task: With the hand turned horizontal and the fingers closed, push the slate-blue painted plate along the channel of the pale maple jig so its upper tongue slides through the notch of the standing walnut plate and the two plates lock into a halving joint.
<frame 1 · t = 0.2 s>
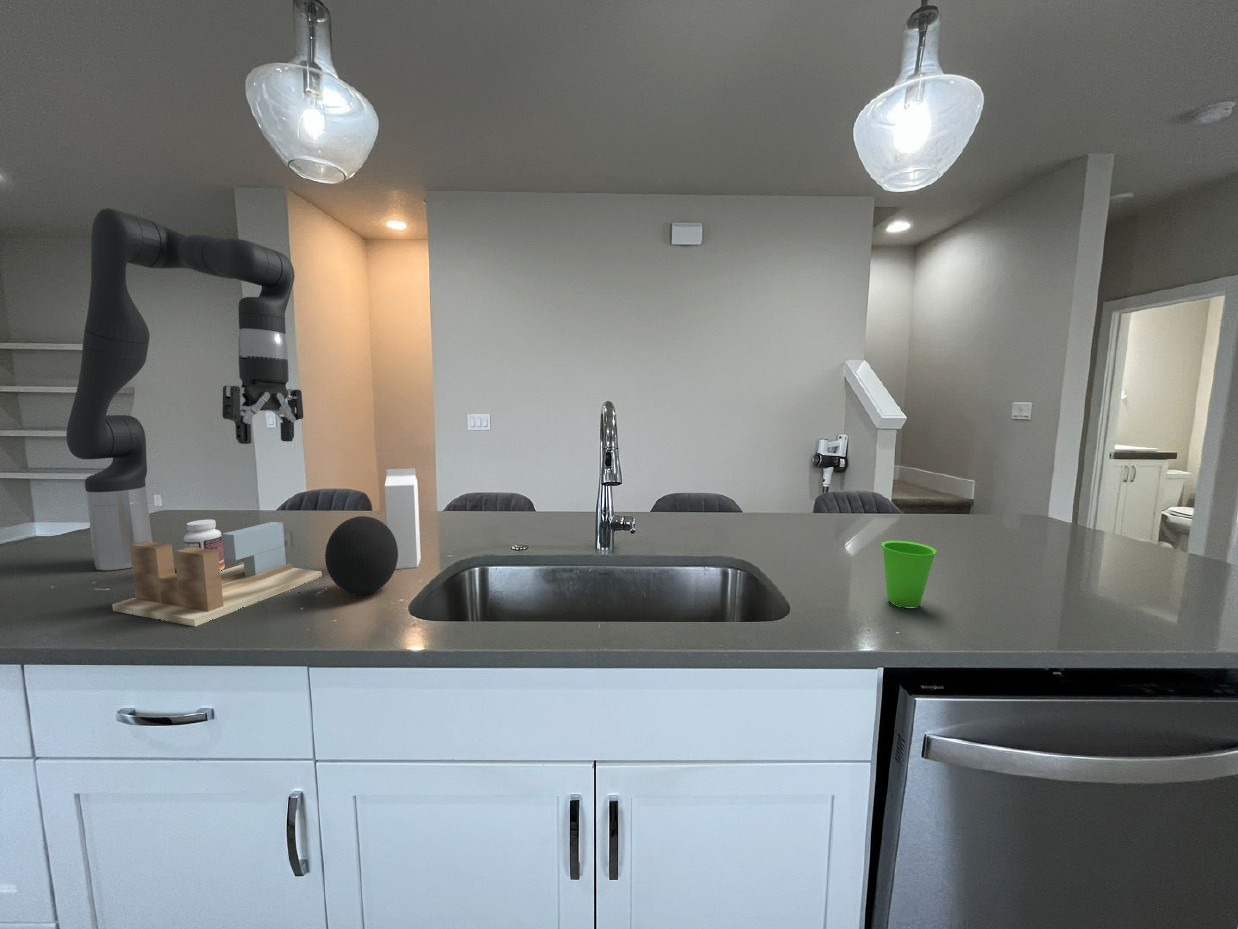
hand: (266, 442, 93), 29 cm above the counter, tool pointing down, fingers open, 8 cm apart
jig: (227, 592, 93), on the counter
cup: (903, 604, 91), on the counter
sliding plate: (255, 551, 98), point 6 cm above the counter, slide at 0.0 cm
pill bottle: (206, 572, 104), on the counter
milk: (405, 565, 111), on the counter
decorative egg: (365, 593, 94), on the counter
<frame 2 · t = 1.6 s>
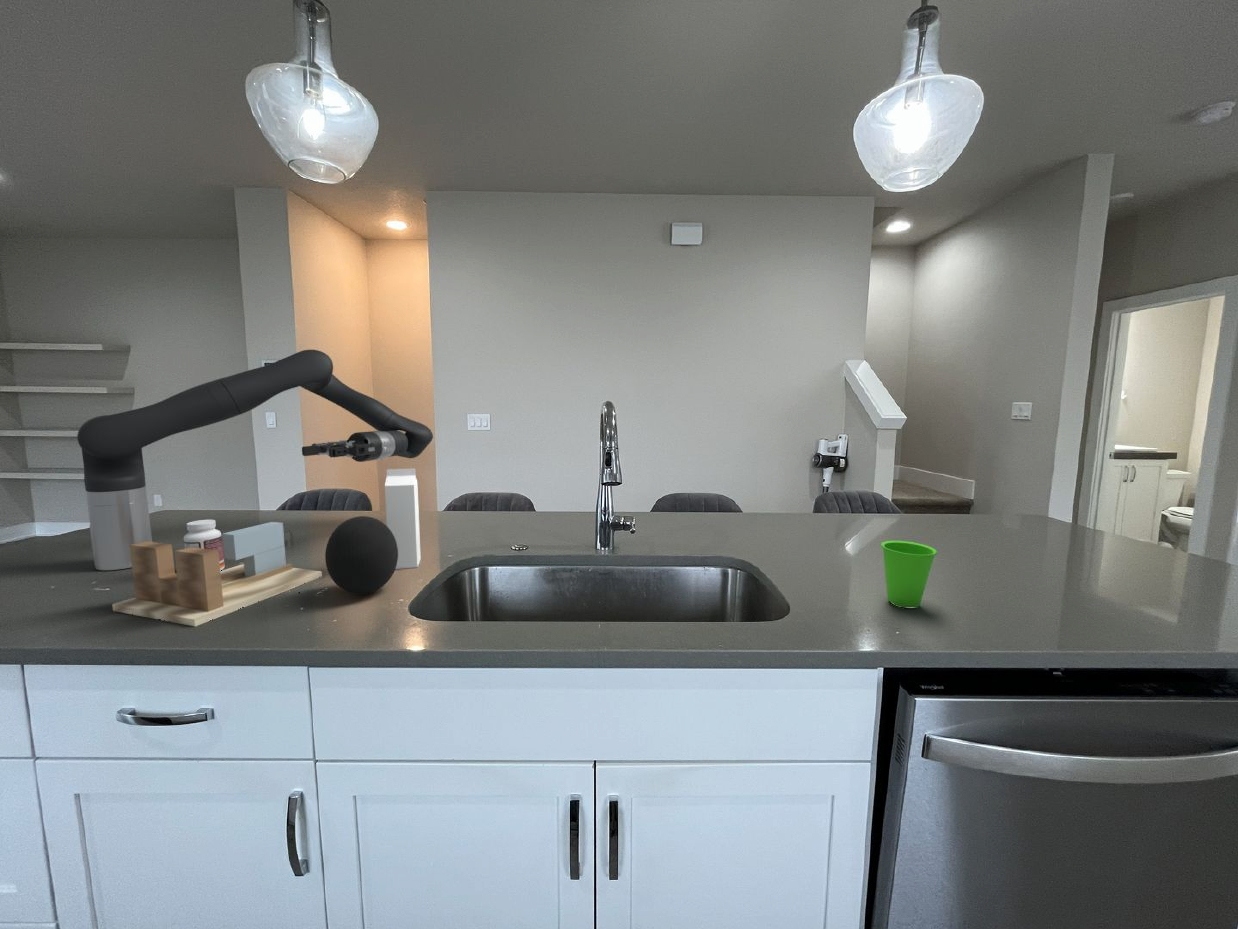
hand: (316, 452, 111), 25 cm above the counter, tool horizontal, fingers open, 7 cm apart
nothing on the counter moved.
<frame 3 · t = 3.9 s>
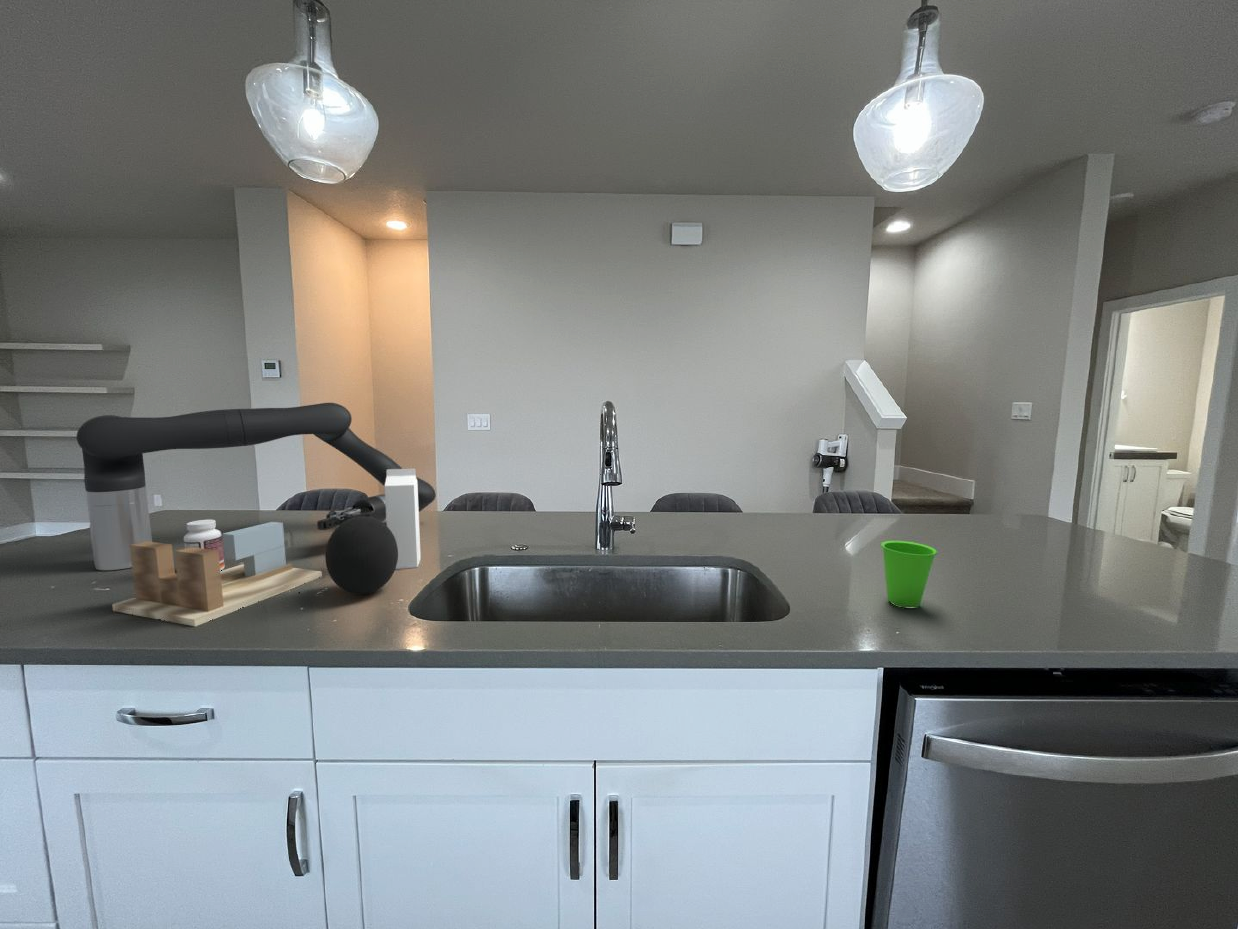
hand: (320, 525, 113), 8 cm above the counter, tool horizontal, fingers closed
nothing on the counter moved.
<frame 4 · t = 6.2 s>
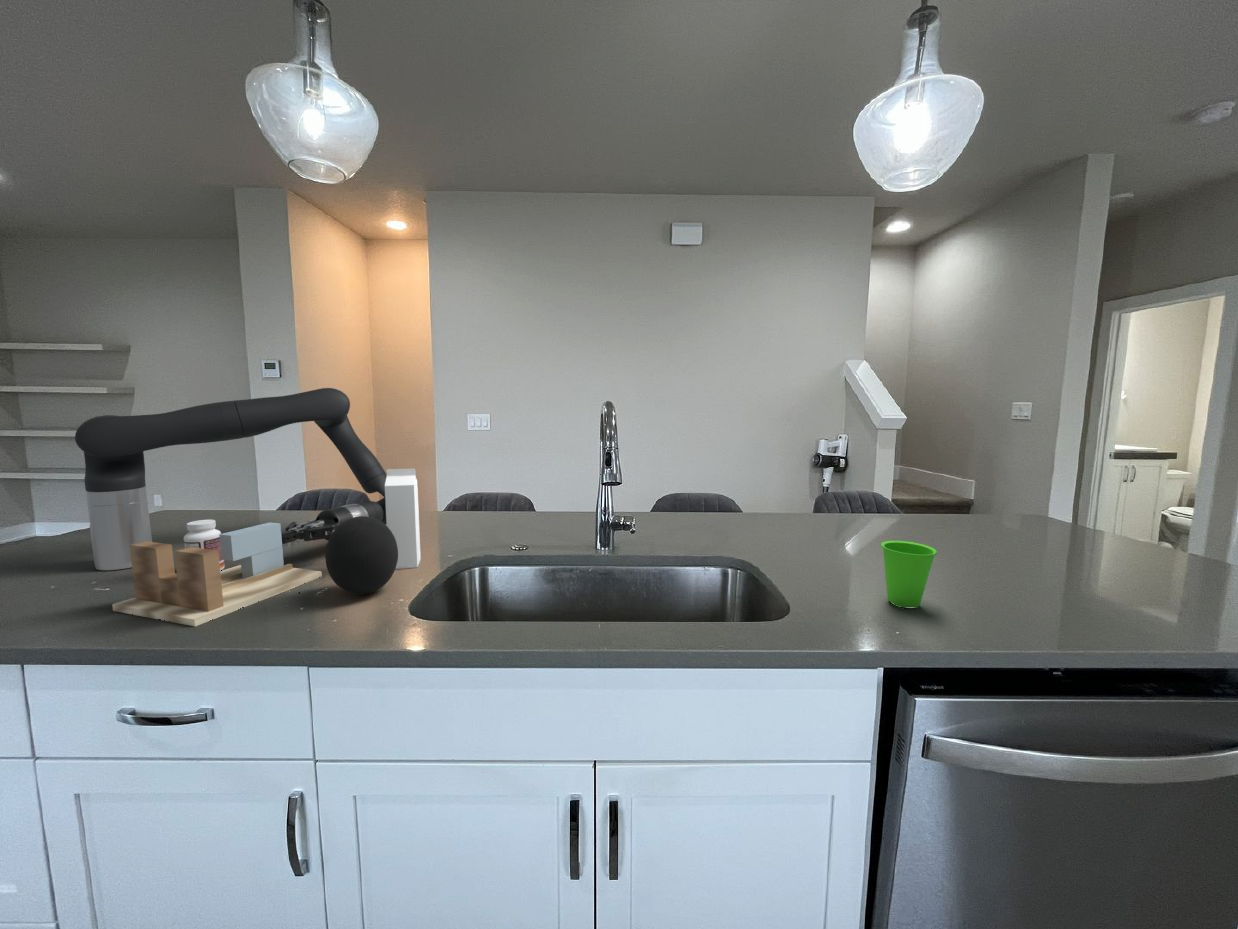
hand: (276, 540, 103), 7 cm above the counter, tool horizontal, fingers closed
sliding plate: (253, 552, 98), point 6 cm above the counter, slide at 0.5 cm, touching gripper
everything else where it was.
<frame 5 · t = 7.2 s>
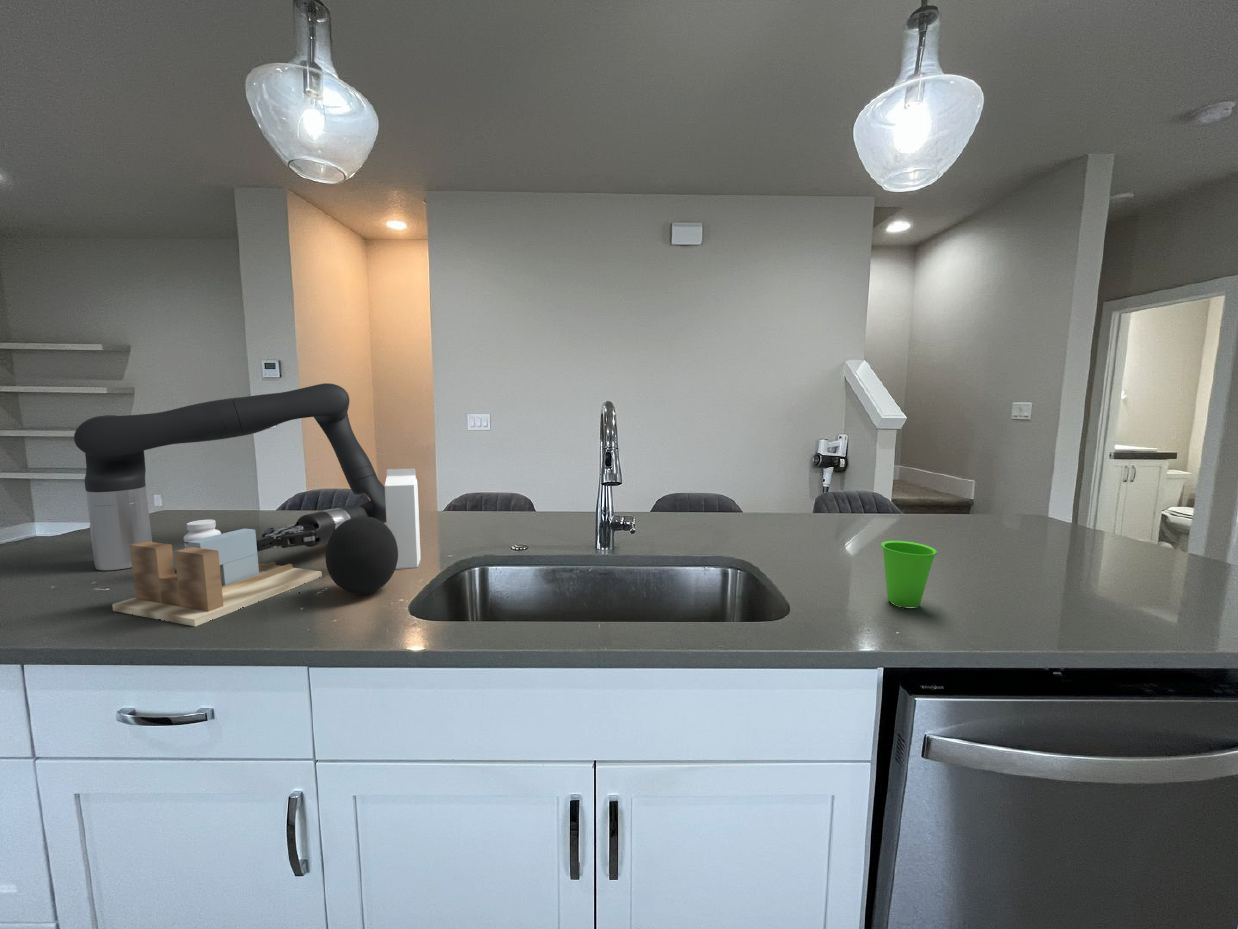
hand: (251, 547, 98), 7 cm above the counter, tool horizontal, fingers closed
sliding plate: (225, 560, 93), point 6 cm above the counter, slide at 5.8 cm, touching gripper
everything else where it was.
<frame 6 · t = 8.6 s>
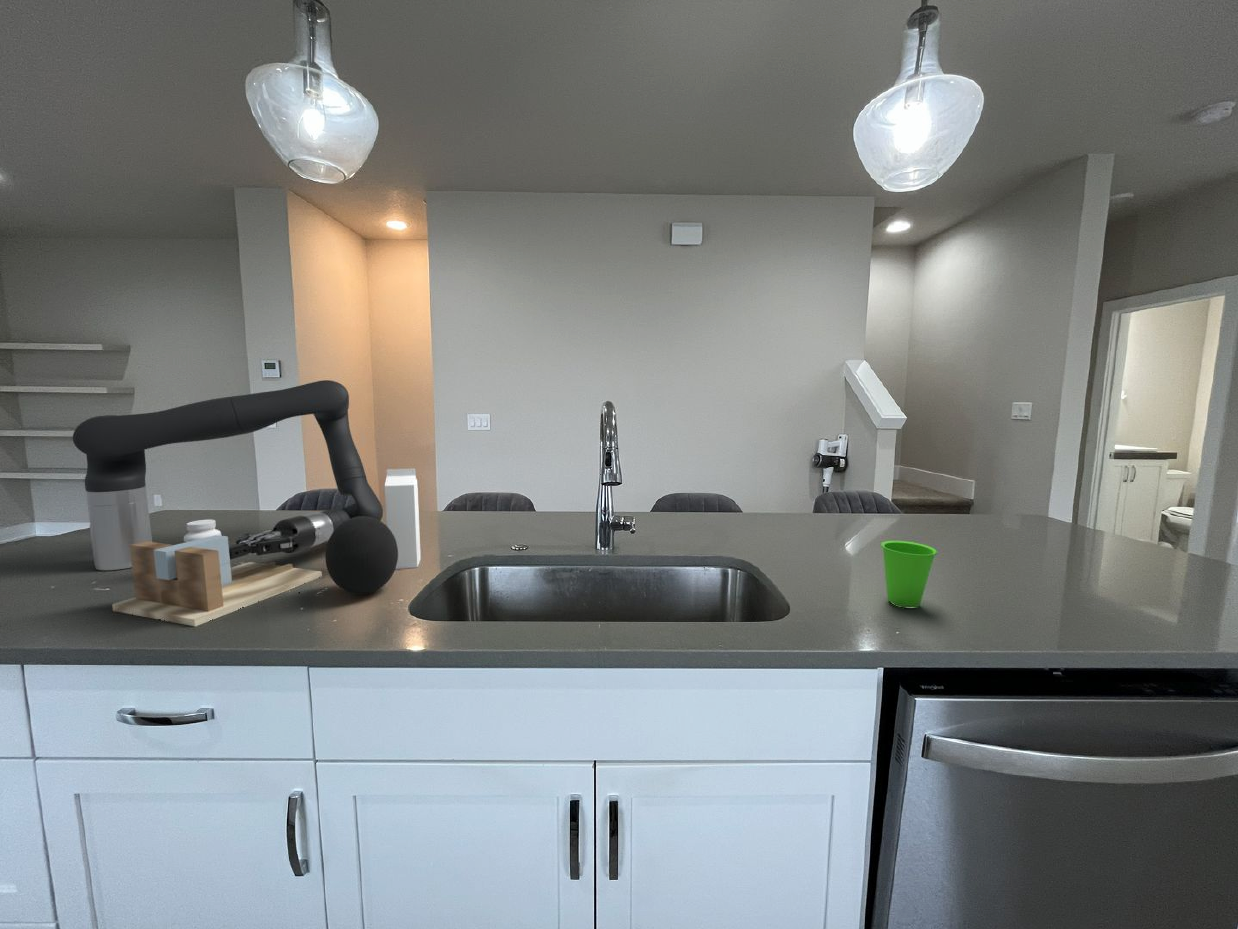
hand: (223, 554, 92), 7 cm above the counter, tool horizontal, fingers closed
sliding plate: (195, 569, 88), point 6 cm above the counter, slide at 11.1 cm, touching gripper
everything else where it was.
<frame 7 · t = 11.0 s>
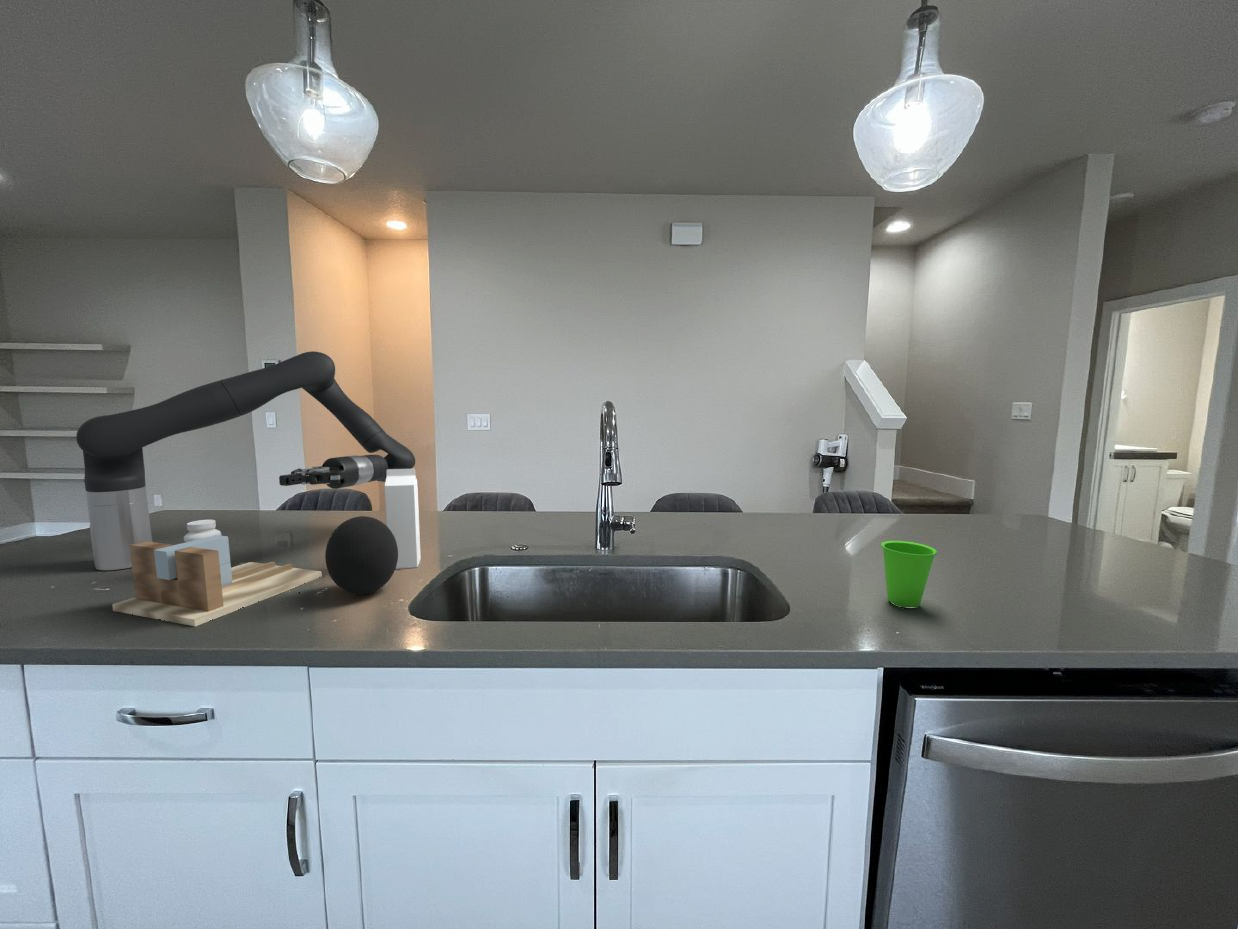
hand: (282, 480, 103), 20 cm above the counter, tool horizontal, fingers closed
sliding plate: (195, 569, 88), point 6 cm above the counter, slide at 11.0 cm
everything else where it was.
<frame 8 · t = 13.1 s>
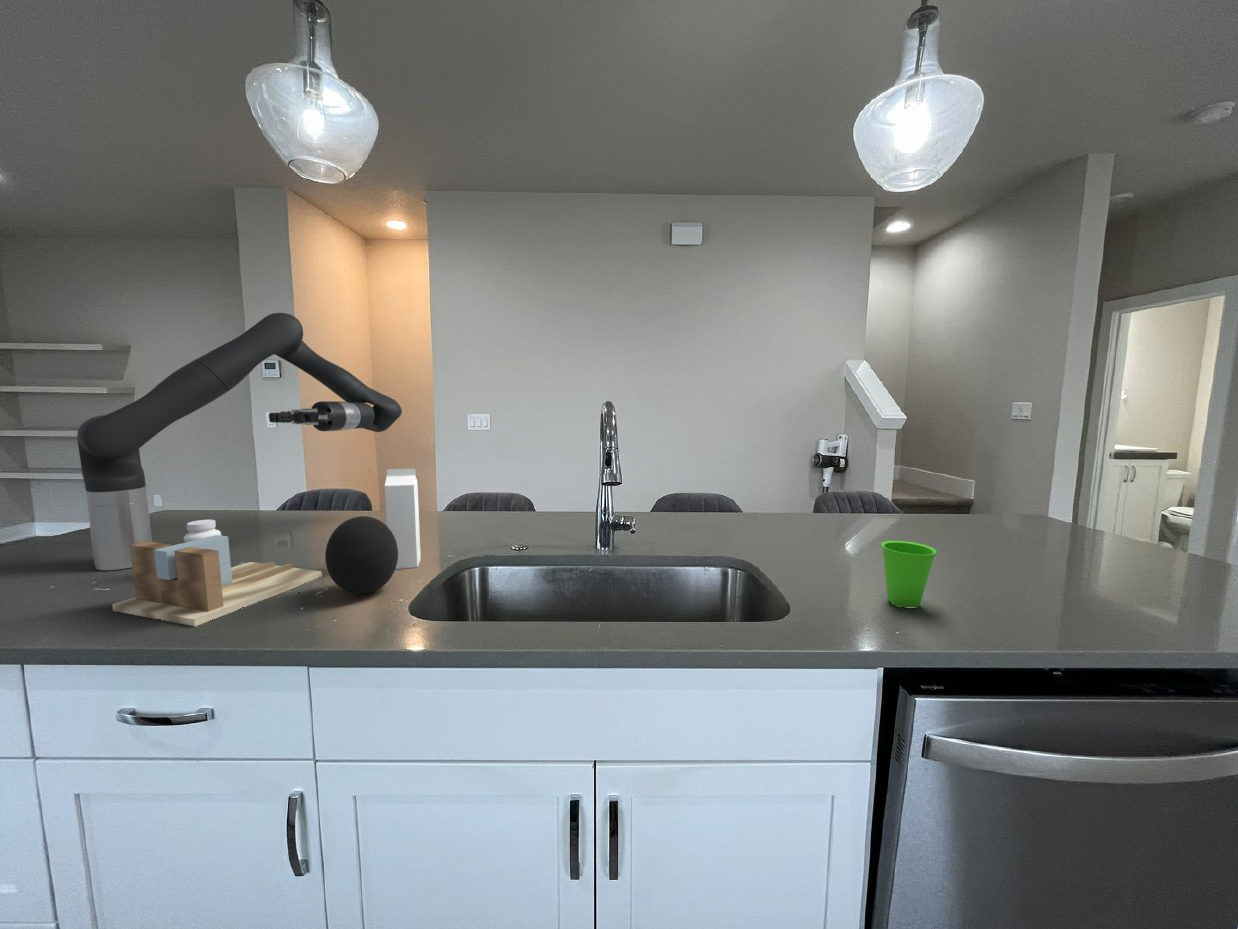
hand: (271, 417, 109), 33 cm above the counter, tool horizontal, fingers closed
nothing on the counter moved.
at the end: sliding plate slide at 11.0 cm; sliding plate 0.2 cm from the target spot, resting on jig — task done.
